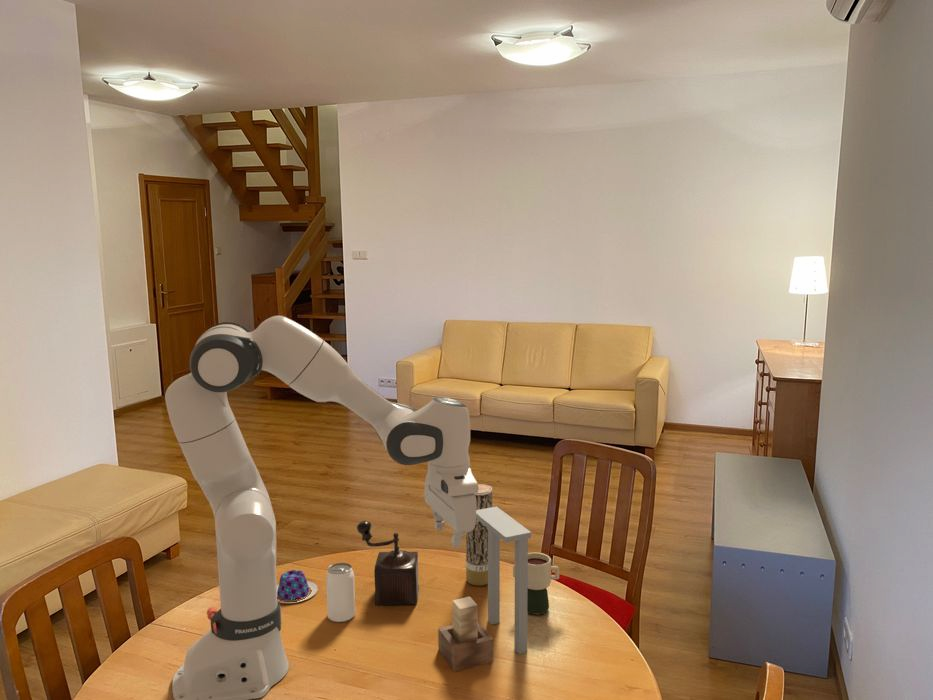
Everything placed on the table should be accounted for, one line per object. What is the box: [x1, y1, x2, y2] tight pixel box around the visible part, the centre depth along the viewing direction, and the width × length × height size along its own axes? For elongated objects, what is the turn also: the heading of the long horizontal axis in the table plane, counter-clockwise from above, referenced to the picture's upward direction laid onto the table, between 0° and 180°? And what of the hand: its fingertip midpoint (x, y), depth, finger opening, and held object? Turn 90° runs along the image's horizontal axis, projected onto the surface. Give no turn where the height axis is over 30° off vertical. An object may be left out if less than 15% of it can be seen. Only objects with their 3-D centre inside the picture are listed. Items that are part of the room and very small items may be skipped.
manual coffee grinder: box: [356, 520, 420, 607], centre depth 174 cm, size 16×11×18 cm
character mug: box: [512, 552, 560, 615], centre depth 167 cm, size 11×7×13 cm, turn 86°
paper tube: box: [465, 483, 493, 587], centre depth 180 cm, size 7×7×25 cm
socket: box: [437, 622, 494, 673], centre depth 149 cm, size 9×9×5 cm
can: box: [325, 562, 356, 623], centre depth 165 cm, size 6×6×12 cm
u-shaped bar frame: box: [476, 506, 532, 655], centre depth 154 cm, size 6×16×27 cm, turn 24°
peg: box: [452, 596, 479, 644], centre depth 148 cm, size 4×4×12 cm
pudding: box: [277, 569, 318, 604], centre depth 176 cm, size 12×12×5 cm
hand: (447, 537), depth 149 cm, fingers open, 8 cm apart
